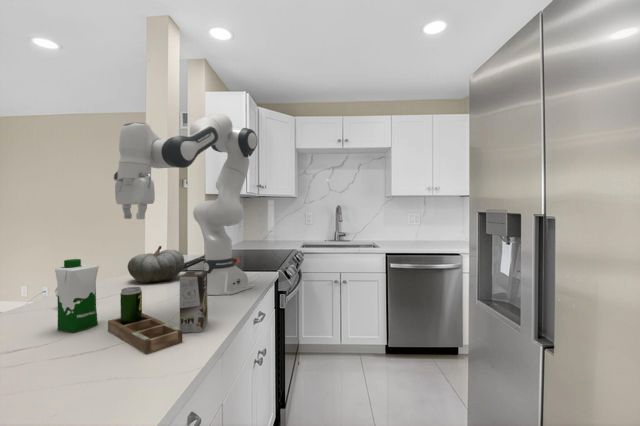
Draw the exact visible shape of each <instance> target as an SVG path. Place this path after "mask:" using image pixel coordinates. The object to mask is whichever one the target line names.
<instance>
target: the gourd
mask: <svg viewBox="0 0 640 426" xmlns="http://www.w3.org/2000/svg"><path fill="white" fill-rule="evenodd" d="M162 247H163V246H162V245H159V246H158V248H157V249H156V251H155V252H154V253H151V252H149V253H148V252H147V253H141V254H139V253H138V254H137V255H135V256H134V257H132V258H131V259H130V260H129V261H128V263H127V271H128V272H129V275H130V276H131V277H132V278H133V279H134V280H136V281H138V282H140V283H144V284H149V283H154V282H155V283H156V282H161V281H171V280H172V279H175V278H176V277H177V276H178V275H179V274H180V273H181V272H182V270H183V269H184V267H185V258H184V255H183V254H182V252H180V251H179V250H177V249H164V250H162V251H161V249H162Z"/></svg>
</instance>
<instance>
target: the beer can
mask: <svg viewBox="0 0 640 426" xmlns="http://www.w3.org/2000/svg"><path fill="white" fill-rule="evenodd" d="M142 313H143V291H142V288H141V287H140V286H130V287H128V286H127V287H124V288H121V292H120V318H121V324H122V325H127V324H131V323H135V322H139V321H142Z"/></svg>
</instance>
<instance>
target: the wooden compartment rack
mask: <svg viewBox="0 0 640 426" xmlns="http://www.w3.org/2000/svg"><path fill="white" fill-rule="evenodd" d="M107 331H108V332H109V333H111V334H112V335H114V336H115V337H117V338H119V339H120V340H122V341H124V342H125V343H127V344H129V345H131V346H132V347H133V348H135V349H137V350H138V351H140V352H142V353H144V354H145V355H148V354H151V353H154V352H157V351H159V350H163V349H167V348H169V347H172V346H174V345H178V344H180V343H183V333H182V330H180V327H177V326H175V325H172V324H170V323H166V322H164V321H161V320H159V319H157V318H154V317H152V316H150V315H148V314H146V313H143V312H142V321H139V322H135V323H131V324H127V325H122V324H121V317H118V318H114V319H108V320H107Z"/></svg>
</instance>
